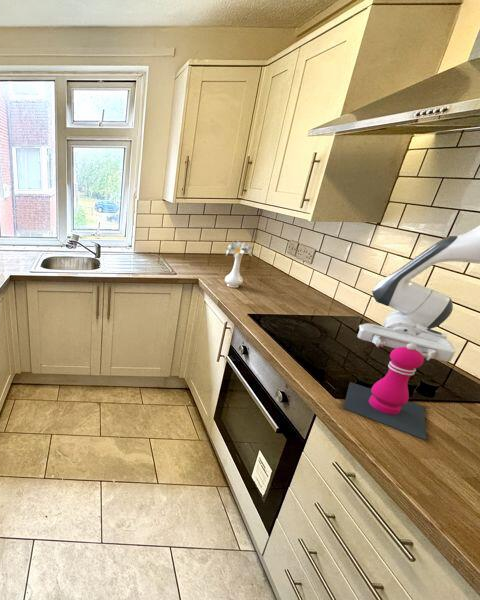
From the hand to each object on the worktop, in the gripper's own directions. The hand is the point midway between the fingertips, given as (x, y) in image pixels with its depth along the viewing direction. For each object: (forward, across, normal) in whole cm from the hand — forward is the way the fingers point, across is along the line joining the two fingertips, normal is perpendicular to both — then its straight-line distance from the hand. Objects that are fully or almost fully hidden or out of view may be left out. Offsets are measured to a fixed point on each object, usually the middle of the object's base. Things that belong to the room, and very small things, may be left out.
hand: (402, 351), depth 89 cm
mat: (+11, 0, +13) cm, 17 cm away
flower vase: (-62, -67, +13) cm, 92 cm away
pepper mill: (+11, 0, +13) cm, 17 cm away
